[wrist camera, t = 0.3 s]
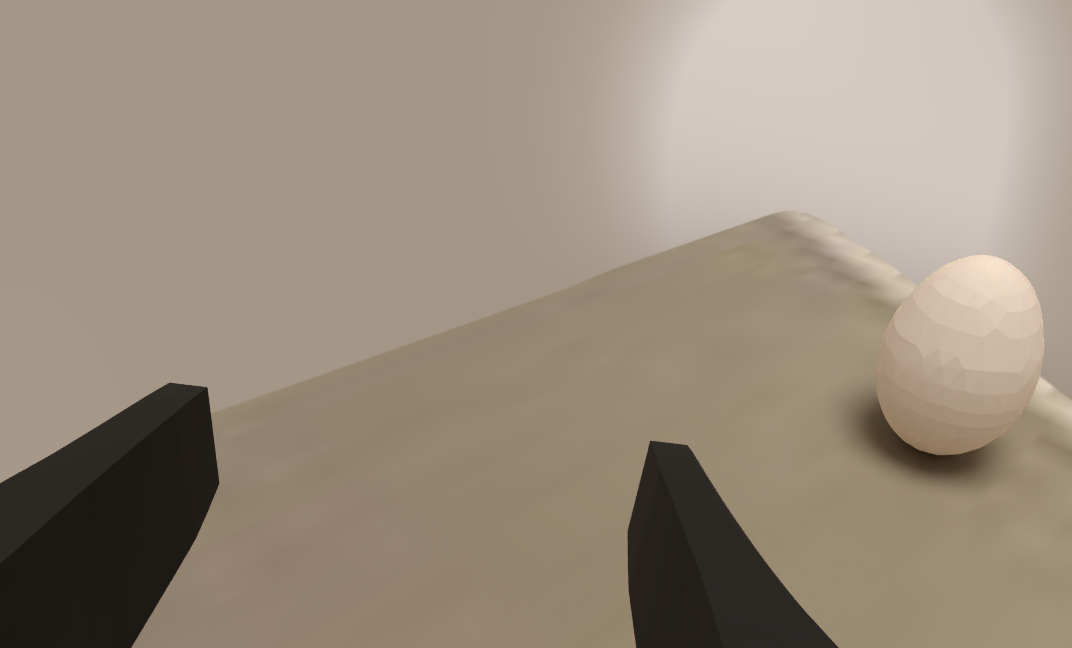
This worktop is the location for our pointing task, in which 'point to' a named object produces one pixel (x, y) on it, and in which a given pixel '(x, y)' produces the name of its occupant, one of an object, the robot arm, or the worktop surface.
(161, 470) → the robot arm
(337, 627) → the worktop surface
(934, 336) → the egg
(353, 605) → the worktop surface
